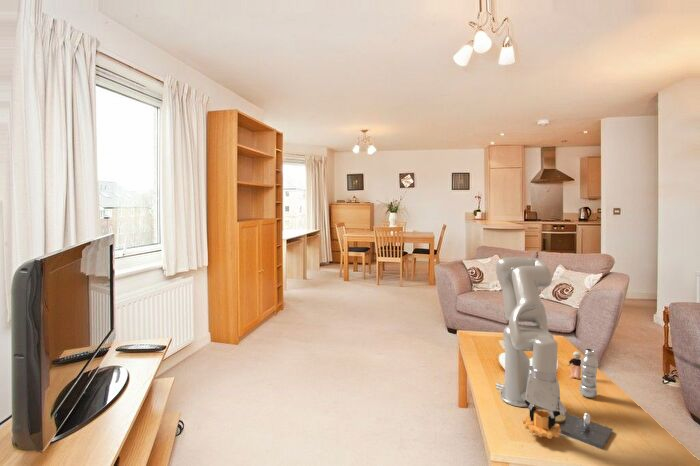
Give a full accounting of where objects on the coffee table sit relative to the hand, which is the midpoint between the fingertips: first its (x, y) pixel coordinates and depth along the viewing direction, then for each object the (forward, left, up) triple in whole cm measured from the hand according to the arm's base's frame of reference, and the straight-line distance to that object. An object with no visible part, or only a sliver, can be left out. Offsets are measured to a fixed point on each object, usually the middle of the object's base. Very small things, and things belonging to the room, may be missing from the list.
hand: (541, 422), depth 135 cm
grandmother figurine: (-6, +61, -6) cm, 62 cm away
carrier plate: (+5, +14, -5) cm, 16 cm away
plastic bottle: (+3, +45, -5) cm, 46 cm away
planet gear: (0, 0, -2) cm, 2 cm away
